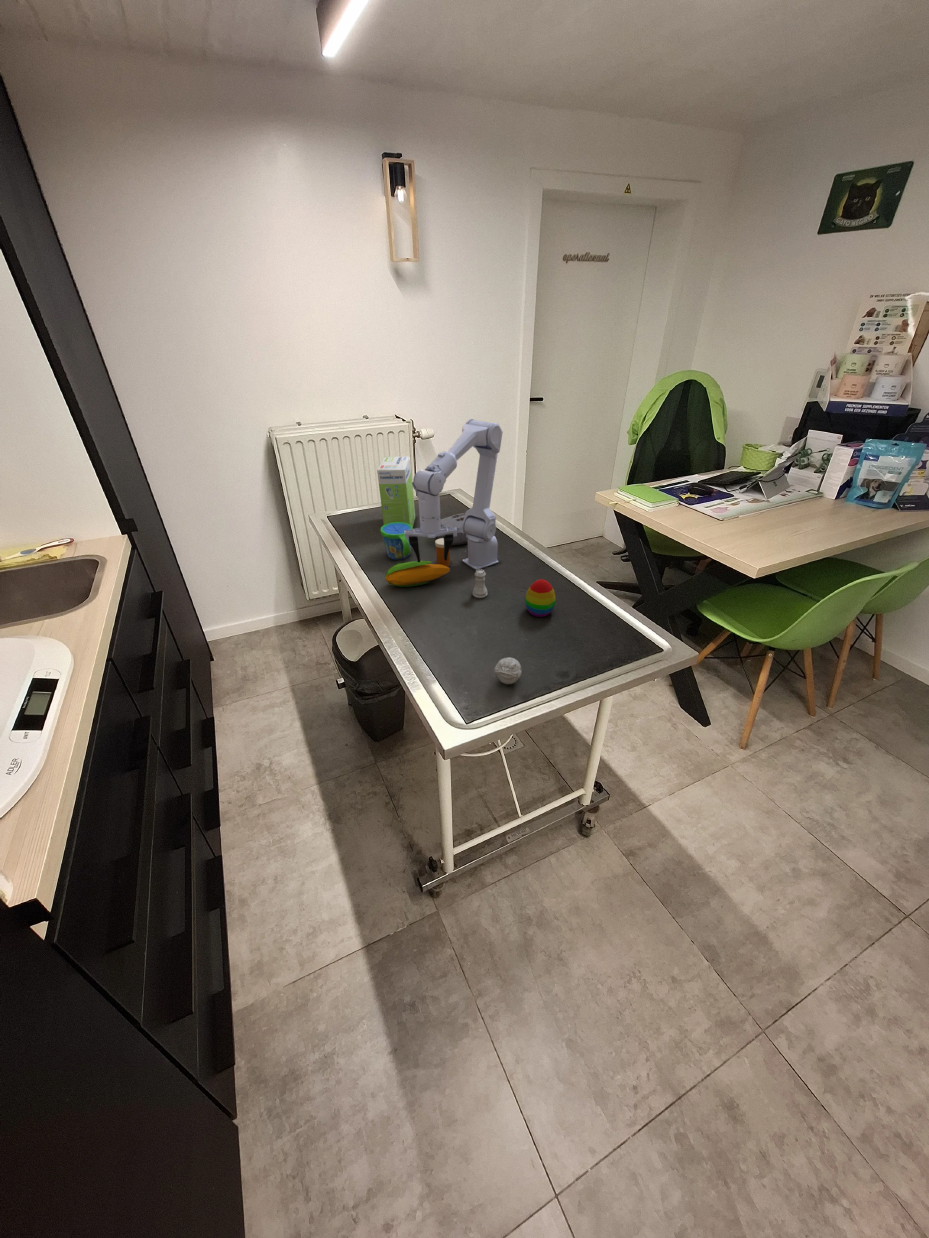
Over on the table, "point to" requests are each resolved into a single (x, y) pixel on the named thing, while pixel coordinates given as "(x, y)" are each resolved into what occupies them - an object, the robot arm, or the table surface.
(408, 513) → the toothbrush box
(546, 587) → the decorative egg
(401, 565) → the corn
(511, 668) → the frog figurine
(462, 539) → the soft grey pack
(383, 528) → the snack cup
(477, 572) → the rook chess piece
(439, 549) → the pill bottle
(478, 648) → the table surface
